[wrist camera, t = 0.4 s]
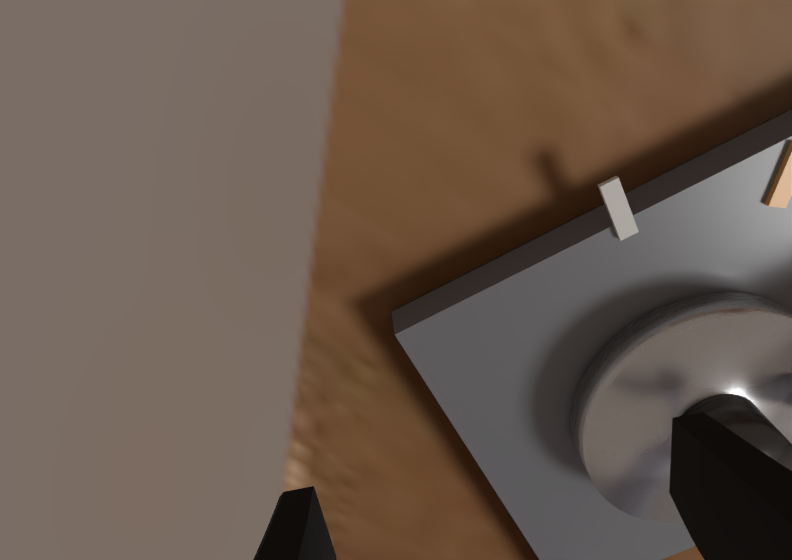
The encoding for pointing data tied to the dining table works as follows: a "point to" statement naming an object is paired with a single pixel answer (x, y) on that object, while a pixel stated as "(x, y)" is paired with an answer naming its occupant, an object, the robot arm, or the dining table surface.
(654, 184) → the dial plate
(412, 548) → the dining table surface
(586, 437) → the dial
